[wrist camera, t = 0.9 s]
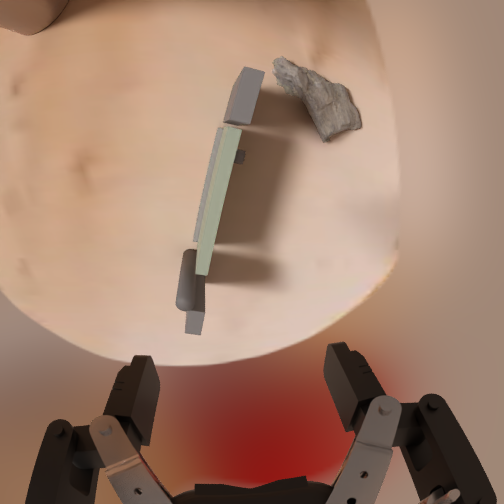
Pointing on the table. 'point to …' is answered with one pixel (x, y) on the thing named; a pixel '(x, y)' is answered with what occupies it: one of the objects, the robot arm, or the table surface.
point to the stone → (318, 98)
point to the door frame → (189, 282)
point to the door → (217, 195)
